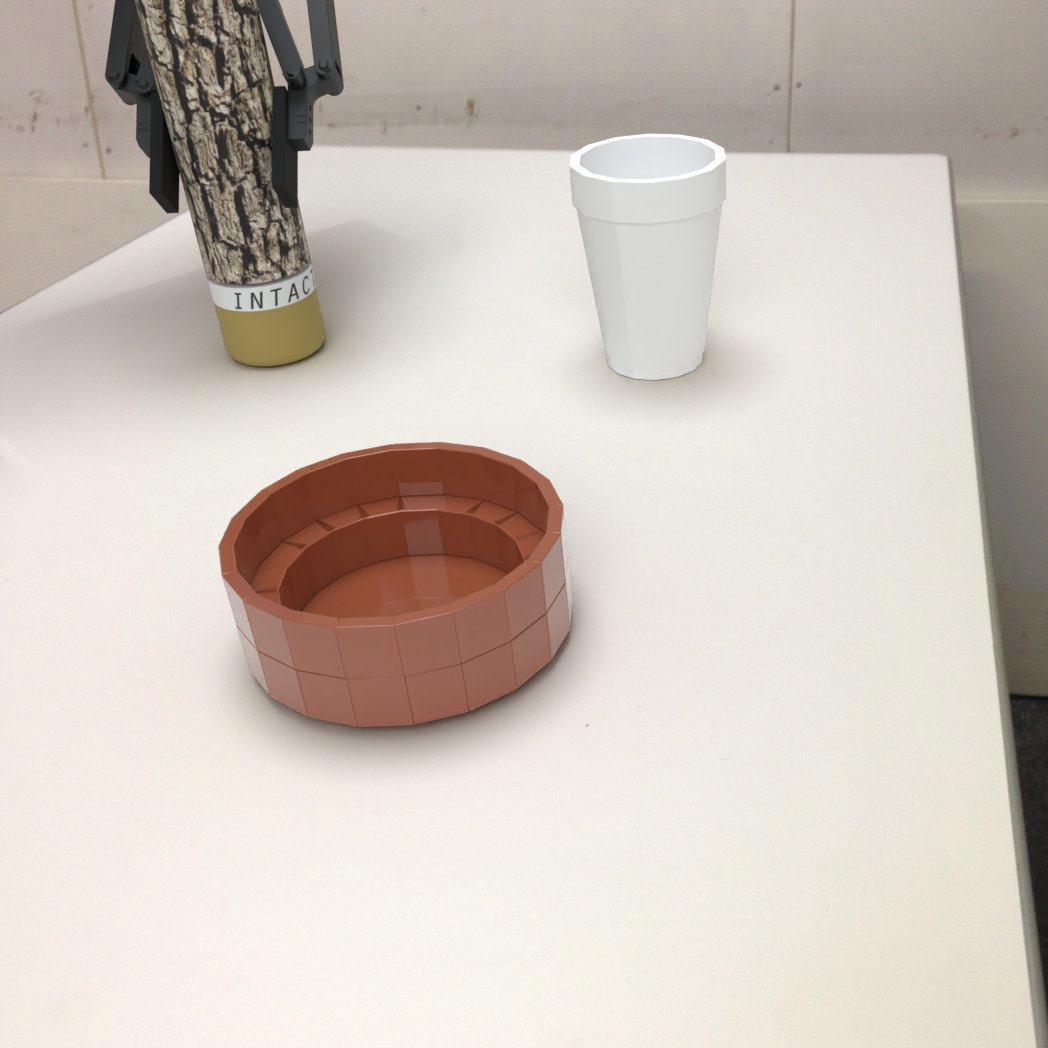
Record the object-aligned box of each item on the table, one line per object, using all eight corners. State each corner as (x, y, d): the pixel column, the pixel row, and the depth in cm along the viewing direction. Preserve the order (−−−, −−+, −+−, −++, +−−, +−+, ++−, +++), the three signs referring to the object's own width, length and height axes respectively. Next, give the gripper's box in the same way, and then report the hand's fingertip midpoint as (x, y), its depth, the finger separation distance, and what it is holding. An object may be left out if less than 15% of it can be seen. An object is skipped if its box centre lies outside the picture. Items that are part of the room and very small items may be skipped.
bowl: (212, 743, 56) (176, 633, 52) (289, 548, 68) (263, 448, 64) (565, 731, 55) (553, 619, 52) (578, 537, 68) (569, 436, 64)
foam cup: (738, 333, 87) (738, 135, 79) (713, 395, 80) (711, 185, 72) (603, 325, 89) (590, 132, 81) (567, 385, 82) (549, 179, 74)
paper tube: (209, 350, 88) (100, -55, 73) (295, 320, 92) (208, -73, 77) (258, 380, 84) (154, -43, 69) (346, 347, 88) (265, -63, 73)
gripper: (395, -108, 85) (397, 221, 82) (101, -93, 85) (93, 234, 82) (367, -196, 77) (369, 162, 74) (46, -179, 78) (35, 177, 75)
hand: (224, 199), depth 78 cm, fingers closed on paper tube, 7 cm apart
